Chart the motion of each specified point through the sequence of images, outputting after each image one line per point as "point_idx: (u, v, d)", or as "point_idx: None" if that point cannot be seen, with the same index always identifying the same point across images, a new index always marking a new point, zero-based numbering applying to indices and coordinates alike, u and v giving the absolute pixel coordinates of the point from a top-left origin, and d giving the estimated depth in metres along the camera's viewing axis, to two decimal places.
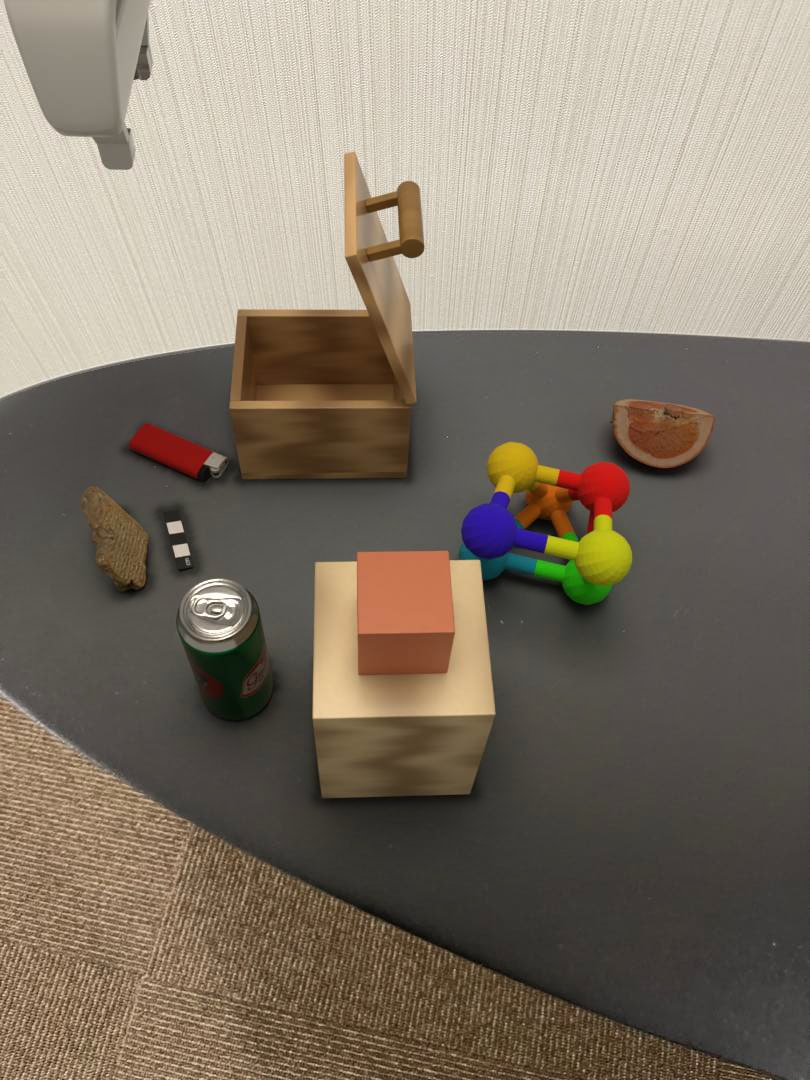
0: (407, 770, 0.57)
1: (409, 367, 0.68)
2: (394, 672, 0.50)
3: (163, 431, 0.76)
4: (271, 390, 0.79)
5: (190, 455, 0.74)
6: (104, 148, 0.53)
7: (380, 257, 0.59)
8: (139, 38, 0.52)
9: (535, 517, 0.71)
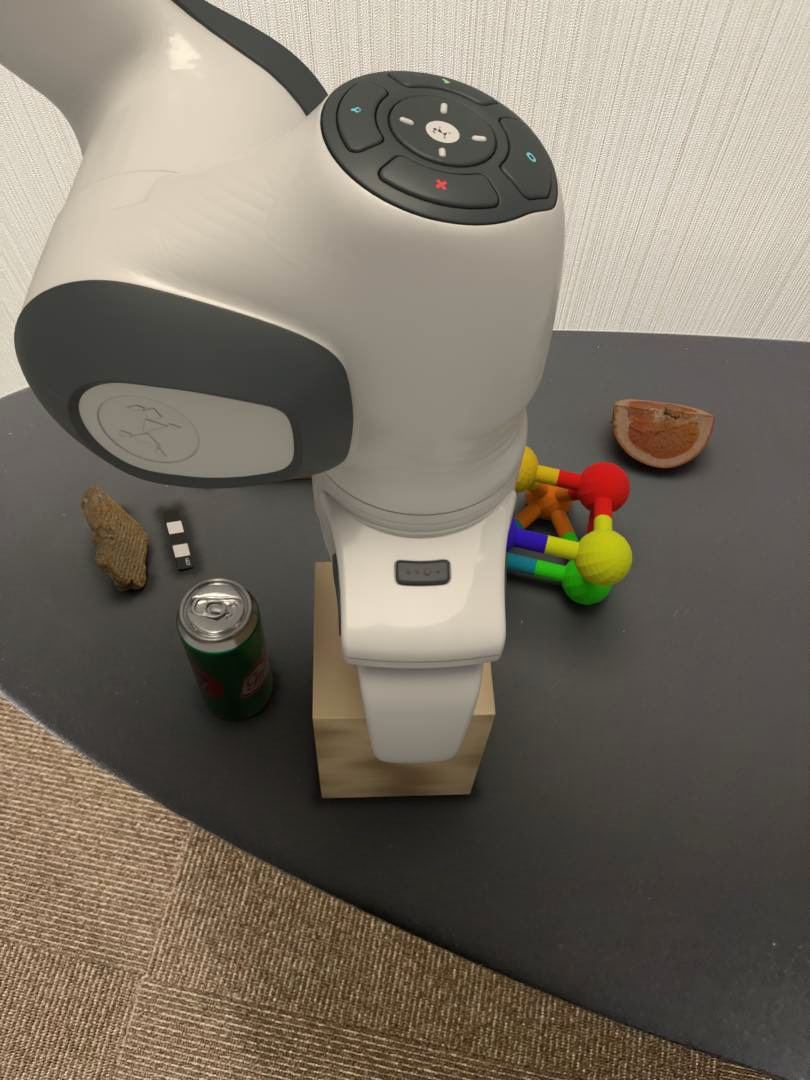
0: (407, 770, 0.57)
1: None
2: None
3: None
4: None
5: None
6: None
7: None
8: None
9: (535, 517, 0.71)
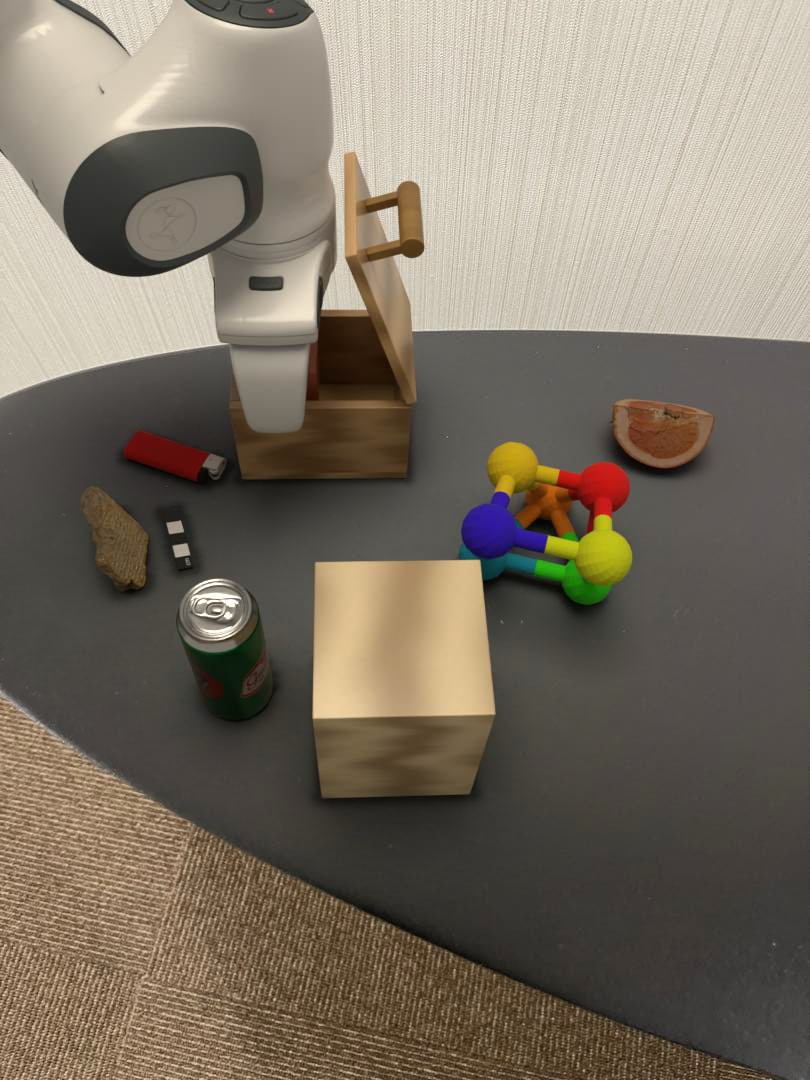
0: (407, 770, 0.57)
1: (409, 367, 0.68)
2: None
3: (157, 437, 0.75)
4: None
5: (188, 458, 0.74)
6: None
7: (380, 257, 0.59)
8: None
9: (535, 517, 0.71)
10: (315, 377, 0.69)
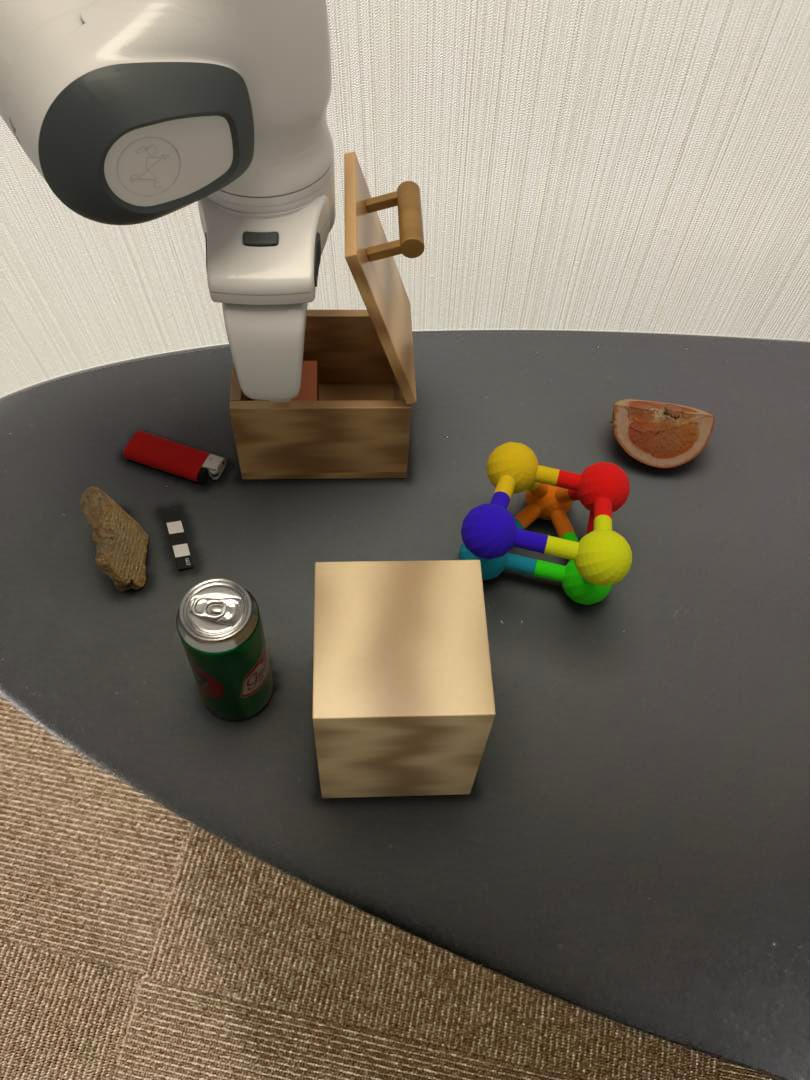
0: (407, 770, 0.57)
1: (409, 367, 0.68)
2: None
3: (156, 437, 0.75)
4: None
5: (188, 458, 0.74)
6: None
7: (380, 257, 0.59)
8: None
9: (535, 517, 0.71)
10: None
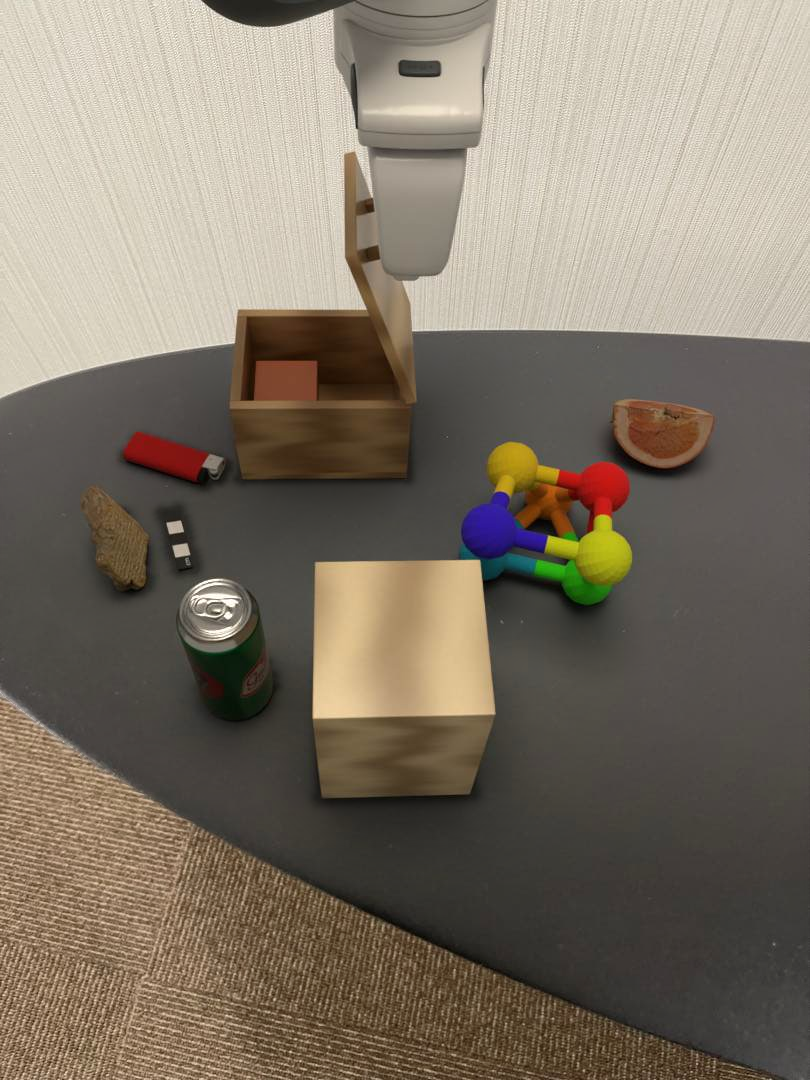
0: (407, 770, 0.57)
1: (409, 367, 0.68)
2: None
3: (156, 438, 0.75)
4: None
5: (187, 459, 0.74)
6: None
7: None
8: None
9: (535, 517, 0.71)
10: None
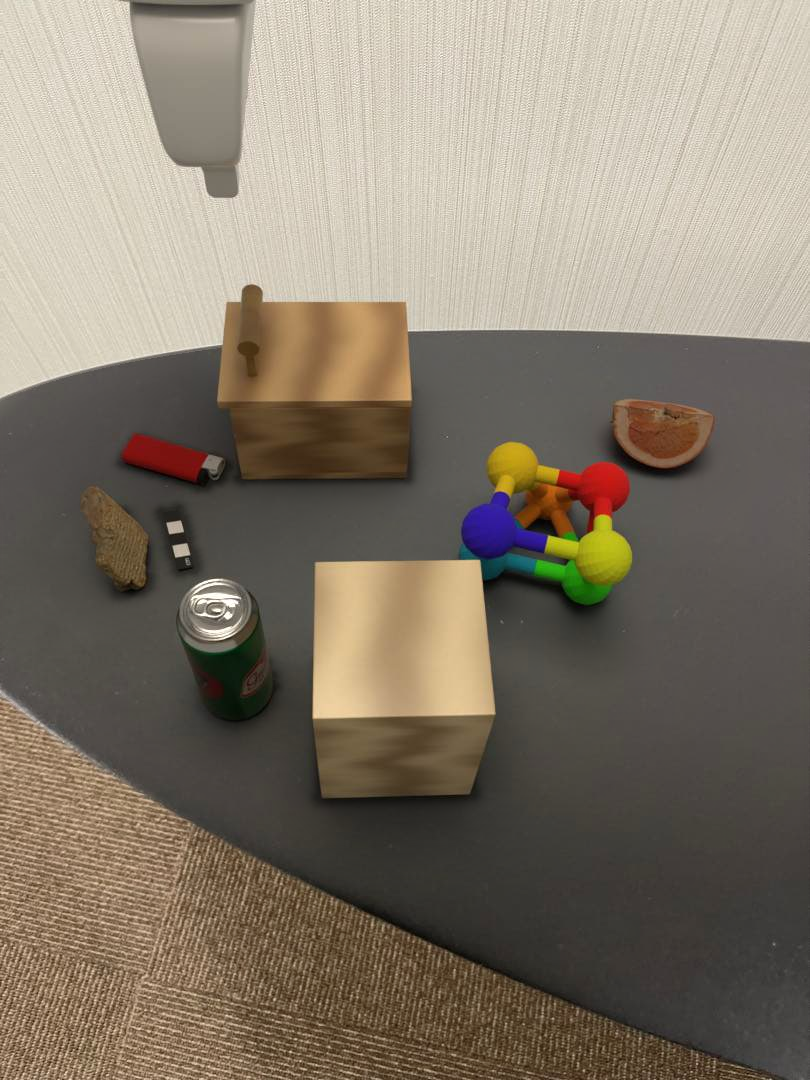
0: (407, 770, 0.57)
1: (387, 380, 0.69)
2: None
3: (154, 440, 0.75)
4: None
5: (187, 460, 0.74)
6: (210, 176, 0.51)
7: (253, 369, 0.68)
8: (249, 63, 0.50)
9: (535, 517, 0.71)
10: None
